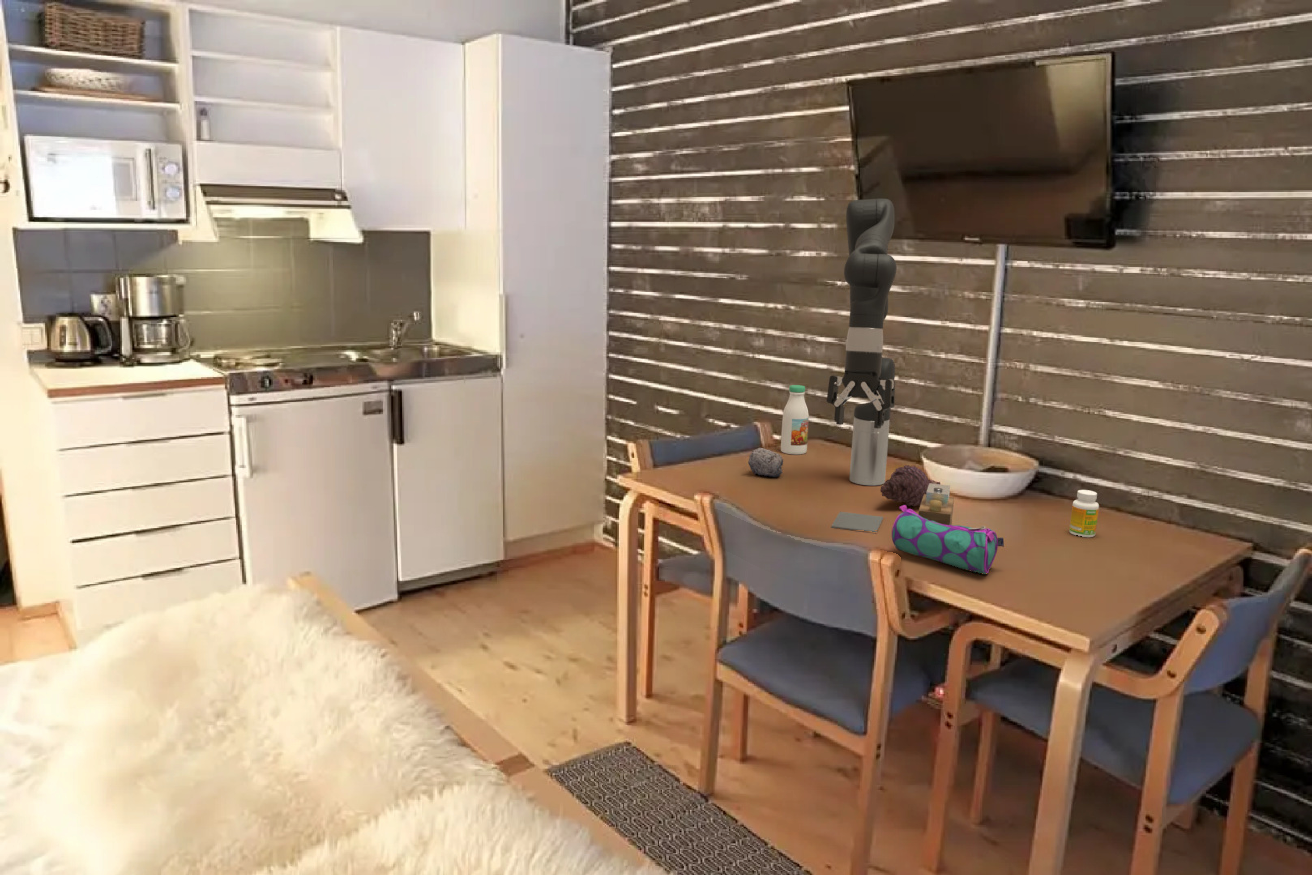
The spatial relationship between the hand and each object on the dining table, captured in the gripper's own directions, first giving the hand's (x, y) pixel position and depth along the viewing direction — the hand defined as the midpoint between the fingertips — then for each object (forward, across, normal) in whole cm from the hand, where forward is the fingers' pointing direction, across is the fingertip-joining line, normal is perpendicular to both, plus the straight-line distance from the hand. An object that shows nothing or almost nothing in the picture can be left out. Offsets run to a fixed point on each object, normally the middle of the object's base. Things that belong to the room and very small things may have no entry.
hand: (858, 426), depth 202 cm
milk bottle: (+16, +47, -66) cm, 82 cm away
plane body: (+24, -14, -14) cm, 31 cm away
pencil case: (+26, -20, 0) cm, 33 cm away
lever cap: (+16, -14, -15) cm, 26 cm away
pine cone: (+21, 0, -33) cm, 40 cm away
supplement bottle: (+22, -39, -38) cm, 59 cm away
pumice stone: (+19, +40, -37) cm, 58 cm away
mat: (+23, +4, -13) cm, 27 cm away
